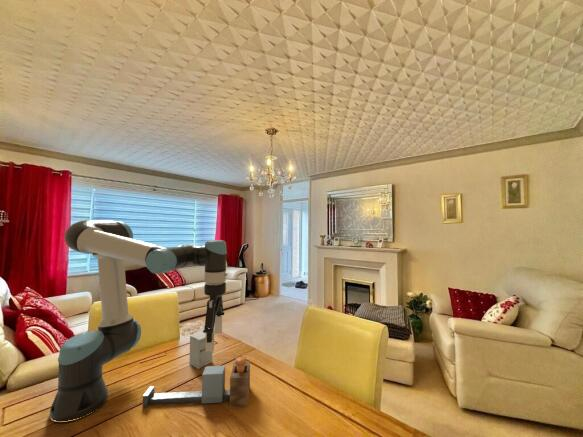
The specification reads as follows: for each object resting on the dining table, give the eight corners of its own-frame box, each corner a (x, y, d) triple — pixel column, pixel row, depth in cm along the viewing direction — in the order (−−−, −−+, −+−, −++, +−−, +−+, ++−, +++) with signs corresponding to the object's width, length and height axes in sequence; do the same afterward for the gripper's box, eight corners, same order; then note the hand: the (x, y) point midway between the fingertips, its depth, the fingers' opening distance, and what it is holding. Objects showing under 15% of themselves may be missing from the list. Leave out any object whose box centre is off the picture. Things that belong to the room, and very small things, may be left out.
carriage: (201, 403, 86) (202, 374, 86) (205, 392, 91) (206, 366, 91) (222, 402, 86) (222, 374, 86) (224, 391, 92) (225, 365, 92)
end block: (229, 407, 84) (230, 378, 84) (234, 388, 94) (234, 362, 94) (247, 406, 85) (247, 377, 85) (249, 387, 95) (250, 361, 95)
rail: (142, 407, 84) (142, 395, 84) (149, 397, 89) (149, 386, 89) (230, 402, 87) (231, 391, 87) (233, 392, 92) (233, 382, 92)
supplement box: (198, 369, 106) (198, 340, 107) (189, 363, 111) (189, 335, 111) (212, 362, 112) (213, 334, 112) (203, 356, 117) (203, 329, 117)
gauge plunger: (234, 380, 87) (234, 362, 88) (236, 374, 91) (236, 356, 91) (245, 380, 88) (245, 361, 88) (246, 373, 92) (246, 356, 92)
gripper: (218, 291, 78) (217, 359, 77) (231, 275, 102) (230, 326, 102) (194, 292, 77) (193, 360, 76) (212, 275, 102) (211, 327, 101)
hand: (214, 341), depth 89 cm, fingers open, 13 cm apart
